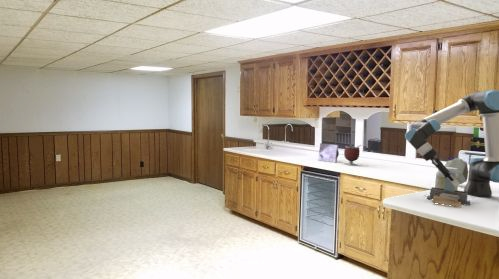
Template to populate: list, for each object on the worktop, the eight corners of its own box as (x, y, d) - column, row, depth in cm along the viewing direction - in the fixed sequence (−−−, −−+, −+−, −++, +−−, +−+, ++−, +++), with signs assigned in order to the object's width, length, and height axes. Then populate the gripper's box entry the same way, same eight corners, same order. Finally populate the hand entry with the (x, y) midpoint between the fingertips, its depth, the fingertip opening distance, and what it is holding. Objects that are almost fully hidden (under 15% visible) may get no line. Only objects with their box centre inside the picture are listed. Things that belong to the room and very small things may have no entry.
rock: (440, 181, 287) (442, 155, 286) (448, 182, 287) (450, 155, 286) (460, 188, 261) (463, 159, 259) (469, 189, 261) (472, 159, 260)
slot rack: (428, 196, 222) (429, 186, 222) (469, 203, 211) (470, 192, 211) (426, 198, 216) (427, 188, 215) (469, 205, 205) (470, 194, 205)
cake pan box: (338, 162, 378) (339, 144, 376) (336, 163, 373) (337, 145, 372) (319, 160, 388) (321, 143, 387) (318, 160, 383) (319, 143, 382)
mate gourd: (342, 165, 358) (344, 143, 357) (343, 163, 371) (345, 143, 370) (359, 166, 353) (361, 145, 352) (360, 165, 367) (362, 144, 365)
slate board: (443, 199, 216) (445, 171, 215) (453, 201, 213) (455, 172, 212) (442, 200, 213) (445, 172, 212) (452, 202, 211) (455, 173, 210)
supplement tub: (449, 194, 237) (452, 166, 236) (461, 198, 224) (464, 169, 223) (430, 192, 236) (432, 165, 235) (440, 197, 224) (443, 168, 223)
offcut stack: (433, 201, 210) (434, 191, 209) (460, 205, 203) (461, 195, 203) (432, 203, 203) (432, 193, 203) (460, 207, 197) (461, 197, 196)
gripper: (423, 155, 227) (452, 187, 219) (420, 156, 213) (450, 190, 205) (434, 147, 224) (463, 179, 216) (431, 148, 210) (463, 182, 202)
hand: (457, 184), depth 211 cm, fingers closed on slate board, 3 cm apart
